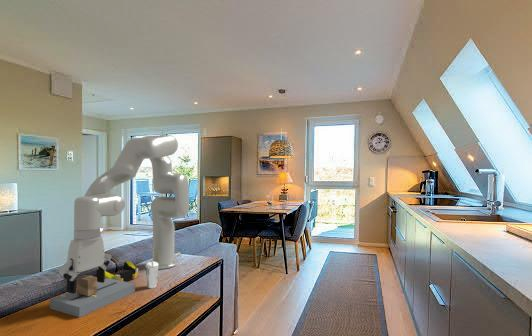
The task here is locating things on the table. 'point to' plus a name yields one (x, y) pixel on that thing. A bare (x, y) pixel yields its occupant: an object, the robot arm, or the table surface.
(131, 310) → the table surface
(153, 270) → the milkshake
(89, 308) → the slider panel
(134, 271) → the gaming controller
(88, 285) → the fader
